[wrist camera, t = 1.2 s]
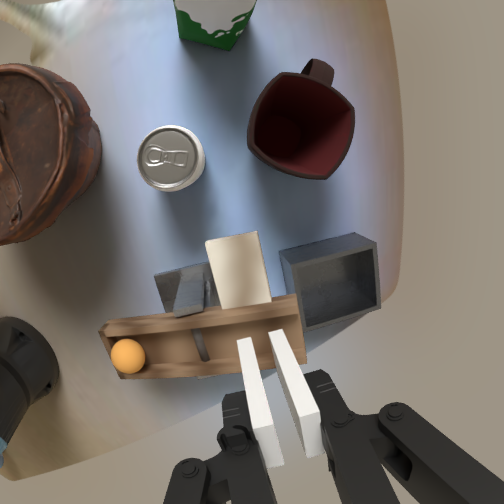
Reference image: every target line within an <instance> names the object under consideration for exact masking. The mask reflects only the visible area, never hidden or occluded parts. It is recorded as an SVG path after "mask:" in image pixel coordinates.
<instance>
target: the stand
mask: <svg viewBox="0 0 504 504" xmlns="http://www.w3.org/2000/svg"><path fill="white" fill-rule="evenodd" d="M154 278H155V281H156V285H157V288H158V291H159V294H160V297H161V300H162V303H163V306H164V309H165V312H166V313H171V312H173V313H174V316H175V317H179V316H184V315H188V314H192V313H197V312H201V311H203V308H207V307H214V306H221V302H220V299H219V295H218V292H217V288H216V284H215V280H214V277H213V273H212V269H211V265H210V262H209V261H208V262H204V263H200V264H196V265H192V266H188V267H183V268H179V269H175V270H171V271H167V272H163V273H159V274H155V275H154ZM219 375H222V374H219ZM213 376H218V375H207V376H197V379H203V378H208V377H213Z"/></svg>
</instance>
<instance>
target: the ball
mask: <svg viewBox="0 0 504 504" xmlns="http://www.w3.org/2000/svg"><path fill="white" fill-rule="evenodd" d="M111 360H112V363H113V365H114V366H115V367H116V368H117V369H118V370H119V371H121V372H123V373H127V374H132V373H135V372H137V371H139V370H140V369H141V368H142V367H143V365H144V363H145V352H144V349H143V348H142V346H141V345H140V344H139V343H138V342H136V341H134V340H132V339H122V340H120V341H118V342H117V343H116V344H115V345H114V346H113V348H112V350H111Z"/></svg>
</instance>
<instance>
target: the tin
mask: <svg viewBox="0 0 504 504" xmlns="http://www.w3.org/2000/svg"><path fill="white" fill-rule="evenodd" d="M279 254H280V259H281V264H282V269H283V274H284V279H285V285H286V290H287V295H290V294H296V295H297V301H298V307H299V312H300V318H301V324H302V330H303V332H307V331H310V330H314V329H317V328H321V327H324V326H327V325H331V324H334V323H337V322H341V321H344V320H347V319H350V318H353V317H356V316H359V315H363V314H366V313H369V312H372V311H375V310H378V309H380V308H381V297H380V280H379V267H378V255H377V245H376V242H374V241H372V240H370V239H368V238H365V237H363V236H361V235H359V234H357V233H355V232H354V233H350V234H346V235H342V236H338V237H334V238H330V239H326V240H322V241H318V242H314V243H310V244H306V245H302V246H298V247H294V248H289V249H285V250H281V251H279Z"/></svg>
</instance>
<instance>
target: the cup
mask: <svg viewBox="0 0 504 504" xmlns="http://www.w3.org/2000/svg"><path fill="white" fill-rule="evenodd" d="M333 78H334V69H333V68H332V67H331V66H330V65H328V64H327V63H326V62H324V61H321V60H318V59H311V60H310V61H309V62H308V63H307V64H306V66H305V67H304V69H303V70H302V72H301V74H299V73H292V72H281V73H279V74H278V75H277V76H276V77H274V78H273V79H272V80H271V81H270V82H269V83H268V84H267V86H266V87H265V88H264V89H263V91H262V92H261V94H260V95H259V97H258V99H257V101H256V103H255V105H254V107H253V110H252V112H251V115H250V119H249V123H248V129H247V146H248V149H249V150H250V151H251V152H252V153H253V154H254V155H255V156H256V157H257V158H258V159H260V160H261V161H262V162H264V163H265V164H267V165H268V166H270V167H272V168H274V169H276V170H278V171H280V172H283V173H285V174H288V175H292V176H296V177H300V178H305V179H316V180H325V179H327V178H329V177H330V176H331V175H332V174H333V173H334V172H335V171H336V170H337V168H338V167H339V166H340V164H341V163H342V161H343V160H344V158H345V156H346V154H347V152H348V150H349V148H350V145H351V142H352V138H353V134H354V127H355V110H354V107H353V106H352V105H351V103H350V102H349V101H348V100H347V99H346V98H345V97H344V96H343V95H342V94H341V93H340V92H338V91H337V90H336V89H334V88H333V87H331V85H332V82H333Z"/></svg>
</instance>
